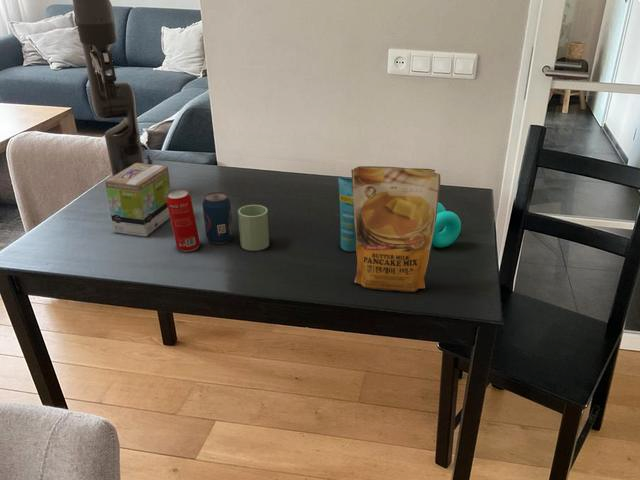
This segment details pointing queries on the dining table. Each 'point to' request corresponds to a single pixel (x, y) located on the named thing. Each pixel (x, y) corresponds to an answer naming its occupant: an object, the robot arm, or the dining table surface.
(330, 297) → the dining table surface
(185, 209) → the beverage can
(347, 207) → the tube
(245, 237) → the tumbler
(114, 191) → the tea box
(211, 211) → the soda can
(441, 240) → the donuts
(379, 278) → the pancake mix bag
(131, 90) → the robot arm
